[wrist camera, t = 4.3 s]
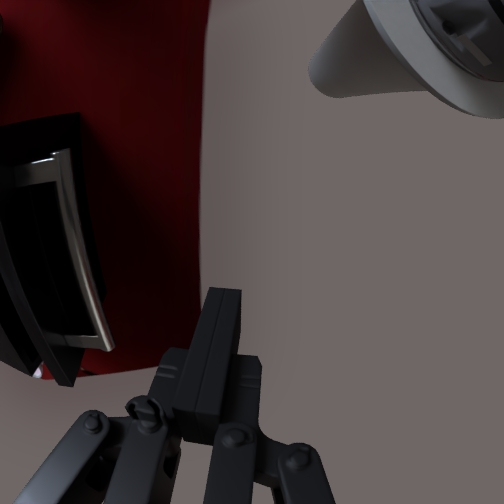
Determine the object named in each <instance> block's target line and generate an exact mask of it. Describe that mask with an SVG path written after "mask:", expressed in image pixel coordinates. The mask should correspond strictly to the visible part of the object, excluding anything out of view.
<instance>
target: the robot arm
mask: <svg viewBox="0 0 504 504" xmlns="http://www.w3.org/2000/svg"><path fill="white" fill-rule="evenodd" d="M408 1H409V3H410V5H411V8H412V10H413V12H414V14H415V16H416V18H417V19H418V21H419V23H420V24H421V26H422V28H423V29H424V31H425V32H426V33H427V35H428V36H429V37H430V39H431V40H432V41H433V43H434V44H435V45H436V46H437V47H438V48H439V50H440V51H441V52H442V53H443V54H444V55H445V56H446V57H447V58H448V59H449V60H450V61H452V62H453V63H454V64H455V65H456V66H458V67H459V68H460V69H462V70H463V71H465V72H466V73H468V74H470V75H471V76H473V77H476V78H478V79H481V80H484V81H489V82H504V0H408ZM241 291H242V290H239V289H226V288H214V287H209V290H208V293H207V296H206V299H205V302H204V305H203V308H202V311H201V314H200V317H199V321H198V324H197V327H196V330H195V333H194V336H193V339H192V342H191V345H190V348H189V349H182V348H175V347H170V348H169V349H168V350H167V351H166V352H165V353H164V354H163V356H162V358H161V361H160V364H159V367H158V369H157V371H156V375H155V377H154V379H153V382H152V384H151V387H150V390H149V393H148V395H147V396H145V395H141V396H138V397H134V398H133V399H131V400H130V401H129V402H128V403H127V404H126V406H125V408H126V410H127V412H128V413H129V415H130V416H127V417H107V416H106V415H105V414H104V413H103V412H100V411H97V410H89V411H86V412H84V413H83V414H82V415H80V416H79V418H78V419H77V420H76V421H75V423H74V424H73V425H72V426H71V428H70V429H69V430H68V431H67V433H66V434H65V435H64V437H63V438H62V439H61V440H60V442H59V443H58V444H57V446H56V447H55V448H54V449H53V451H52V452H51V453H50V455H49V456H48V457H47V459H46V460H45V461H44V462H43V464H42V465H41V466H40V468H39V469H38V470H37V471H36V473H35V474H34V475H33V477H32V478H31V479H30V481H29V482H28V483H27V485H26V486H25V488H24V489H23V490H22V492H21V493H20V494H19V496H18V497H17V498H16V500H15V501H14V503H13V504H102V502H103V501H104V503H103V504H170V502H171V497H172V492H173V488H174V483H175V479H176V474H177V470H178V466H179V461H180V457H181V448H180V443H181V439H182V437H183V440H184V441H186V442H192V443H198V444H204V445H211V446H213V450H212V456H211V461H210V467H209V473H208V479H207V484H206V490H205V496H204V501H203V504H251V503H252V493H253V482H256V483H259V484H262V485H264V486H267V487H270V488H271V491H272V496H273V500H274V504H336V503H335V500H334V497H333V494H332V492H331V488H330V485H329V482H328V480H327V477H326V474H325V471H324V468H323V465H322V462H321V459H320V456H319V454H318V452H317V451H316V449H314V448H313V447H312V446H310V445H308V444H305V443H293V444H290V445H286V444H283V443H280V442H277V441H274V440H272V439H270V438H268V437H267V436H266V435H264V434H263V432H262V431H261V429H260V427H259V423H258V417H259V403H260V388H261V374H262V365H261V363H260V361H259V359H258V356H251V355H239V354H237V352H238V346H239V339H240V333H241ZM104 499H105V500H104Z"/></svg>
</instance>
